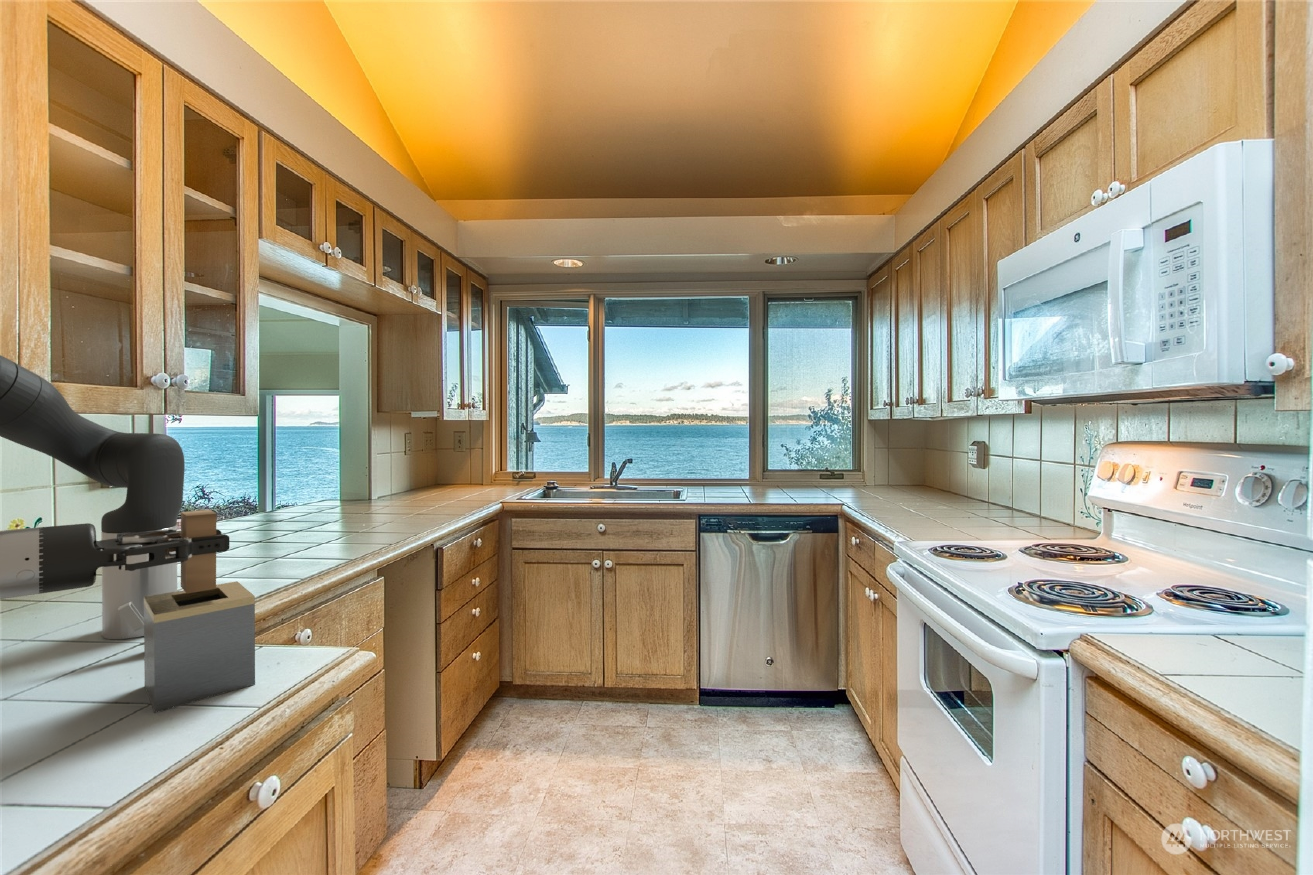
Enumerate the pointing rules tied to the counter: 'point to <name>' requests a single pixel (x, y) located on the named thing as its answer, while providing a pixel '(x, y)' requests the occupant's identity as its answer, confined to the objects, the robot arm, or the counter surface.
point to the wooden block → (198, 568)
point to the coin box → (198, 644)
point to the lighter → (132, 616)
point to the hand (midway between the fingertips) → (223, 539)
